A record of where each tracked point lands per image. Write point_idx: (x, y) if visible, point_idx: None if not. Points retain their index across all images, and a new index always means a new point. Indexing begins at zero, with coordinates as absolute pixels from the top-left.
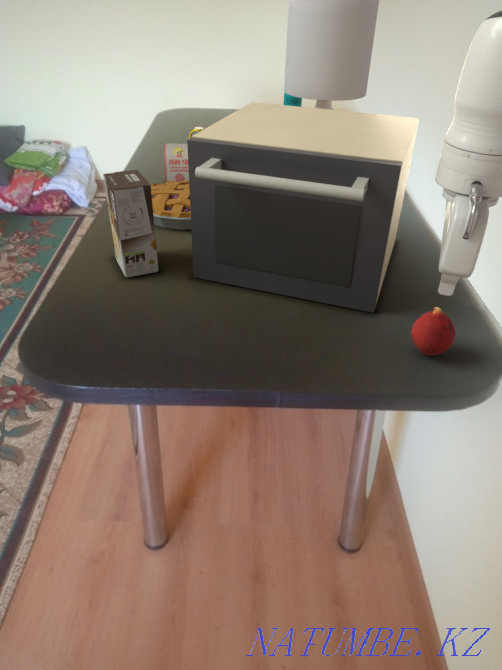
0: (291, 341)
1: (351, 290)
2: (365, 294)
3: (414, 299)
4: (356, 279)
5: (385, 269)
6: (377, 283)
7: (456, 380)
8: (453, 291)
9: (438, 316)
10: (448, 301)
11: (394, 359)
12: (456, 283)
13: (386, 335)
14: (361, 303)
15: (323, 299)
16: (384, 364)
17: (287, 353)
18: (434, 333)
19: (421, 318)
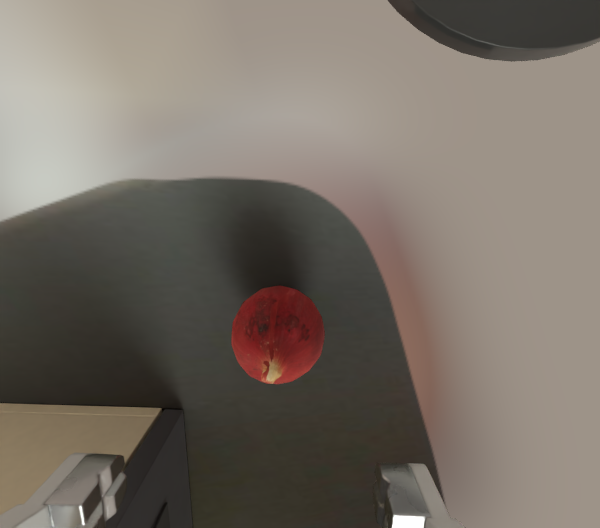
0: (324, 508)
1: (169, 488)
2: (167, 460)
3: (88, 341)
4: (153, 513)
5: (17, 424)
6: (149, 474)
7: (345, 257)
8: (431, 478)
9: (287, 362)
10: (57, 273)
11: (318, 361)
12: (463, 526)
13: (247, 380)
14: (178, 444)
15: (186, 496)
16: (338, 375)
17: (357, 507)
18: (318, 347)
19: (279, 383)
